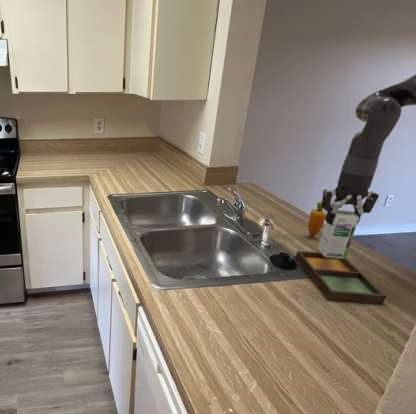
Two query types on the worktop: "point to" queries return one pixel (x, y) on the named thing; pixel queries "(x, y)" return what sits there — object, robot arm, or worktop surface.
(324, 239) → the syrup box
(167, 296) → the worktop surface
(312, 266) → the sorting tray
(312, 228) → the carrot
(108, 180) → the worktop surface
